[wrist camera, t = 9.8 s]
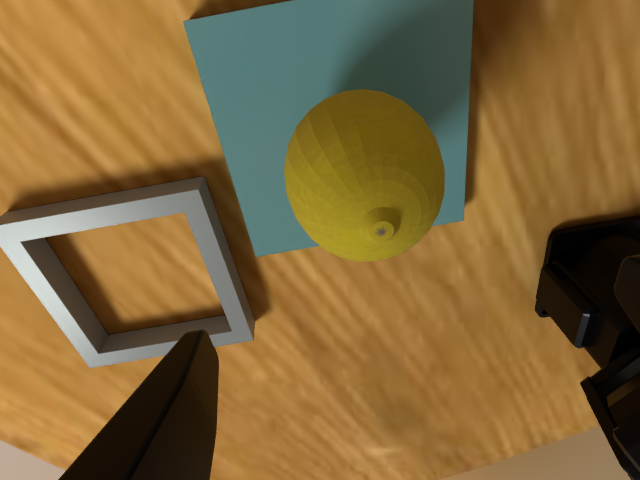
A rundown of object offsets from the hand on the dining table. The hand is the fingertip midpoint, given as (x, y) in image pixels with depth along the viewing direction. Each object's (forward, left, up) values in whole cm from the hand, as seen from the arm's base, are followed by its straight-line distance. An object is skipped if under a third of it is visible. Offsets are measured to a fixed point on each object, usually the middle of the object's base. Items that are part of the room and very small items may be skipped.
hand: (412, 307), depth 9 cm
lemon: (0, 0, -11) cm, 11 cm away
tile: (0, 0, -12) cm, 12 cm away
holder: (+12, +6, -12) cm, 18 cm away
